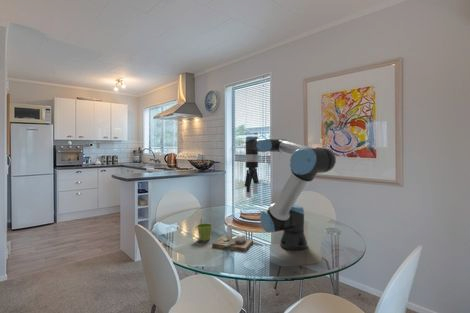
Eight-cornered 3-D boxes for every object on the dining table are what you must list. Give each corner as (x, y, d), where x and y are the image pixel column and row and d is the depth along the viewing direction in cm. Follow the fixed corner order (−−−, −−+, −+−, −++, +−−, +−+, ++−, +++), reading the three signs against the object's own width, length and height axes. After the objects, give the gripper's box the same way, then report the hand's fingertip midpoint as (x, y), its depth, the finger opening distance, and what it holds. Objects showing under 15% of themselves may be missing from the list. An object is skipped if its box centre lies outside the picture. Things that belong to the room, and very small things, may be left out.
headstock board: (253, 243, 159) (253, 239, 159) (244, 253, 145) (244, 248, 144) (222, 239, 166) (222, 235, 166) (210, 248, 152) (210, 244, 152)
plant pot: (198, 242, 161) (197, 228, 160) (196, 237, 170) (195, 224, 169) (213, 241, 163) (213, 227, 163) (210, 236, 172) (210, 222, 172)
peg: (241, 238, 161) (241, 220, 160) (247, 241, 156) (247, 222, 156) (221, 244, 152) (220, 224, 151) (226, 247, 147) (226, 227, 147)
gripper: (252, 160, 179) (252, 191, 180) (239, 162, 156) (239, 198, 157) (263, 160, 176) (263, 192, 177) (251, 162, 153) (251, 199, 154)
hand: (252, 195), depth 167 cm, fingers open, 13 cm apart
